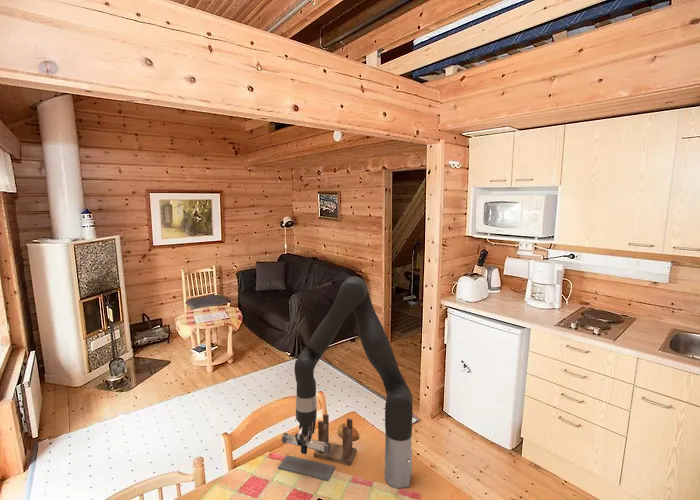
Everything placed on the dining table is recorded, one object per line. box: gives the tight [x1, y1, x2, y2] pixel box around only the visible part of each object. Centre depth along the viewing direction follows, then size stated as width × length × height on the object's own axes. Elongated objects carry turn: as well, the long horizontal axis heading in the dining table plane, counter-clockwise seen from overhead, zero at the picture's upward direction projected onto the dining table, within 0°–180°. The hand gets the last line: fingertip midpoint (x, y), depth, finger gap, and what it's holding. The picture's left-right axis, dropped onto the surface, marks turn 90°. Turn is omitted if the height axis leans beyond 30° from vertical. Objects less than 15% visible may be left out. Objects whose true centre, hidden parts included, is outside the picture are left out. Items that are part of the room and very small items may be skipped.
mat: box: [277, 454, 336, 482], centre depth 131 cm, size 20×7×1 cm, turn 72°
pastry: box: [337, 422, 360, 441], centre depth 151 cm, size 9×7×4 cm
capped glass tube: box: [281, 432, 331, 453], centre depth 130 cm, size 18×3×3 cm, turn 72°
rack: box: [313, 413, 358, 466], centre depth 138 cm, size 15×8×14 cm, turn 72°
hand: (306, 450), depth 131 cm, fingers closed on capped glass tube, 3 cm apart
